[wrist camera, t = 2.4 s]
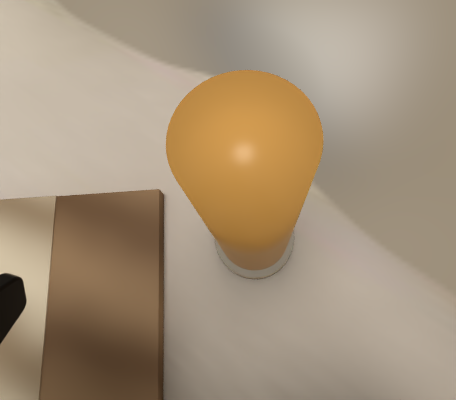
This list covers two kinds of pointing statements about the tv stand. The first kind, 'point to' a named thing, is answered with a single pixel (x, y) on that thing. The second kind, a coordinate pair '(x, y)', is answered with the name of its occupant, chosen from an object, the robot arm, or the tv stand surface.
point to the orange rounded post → (246, 164)
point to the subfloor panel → (85, 296)
